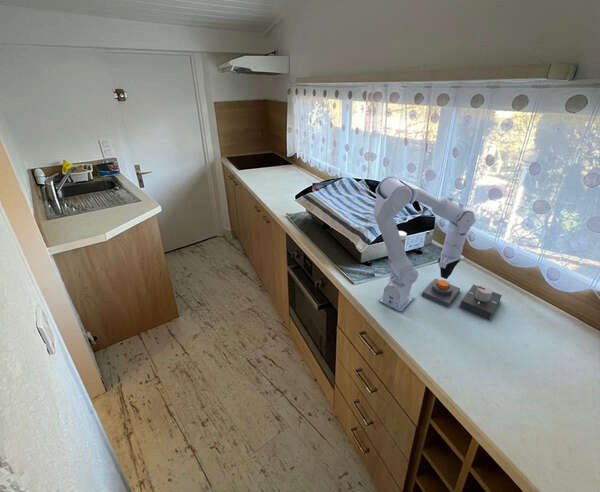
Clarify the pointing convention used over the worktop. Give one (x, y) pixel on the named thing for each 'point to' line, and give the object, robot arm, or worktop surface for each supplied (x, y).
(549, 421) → the worktop surface
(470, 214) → the robot arm
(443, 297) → the block
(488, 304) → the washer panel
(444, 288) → the button
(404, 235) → the sprinkles bottle
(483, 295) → the program dial
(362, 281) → the worktop surface
